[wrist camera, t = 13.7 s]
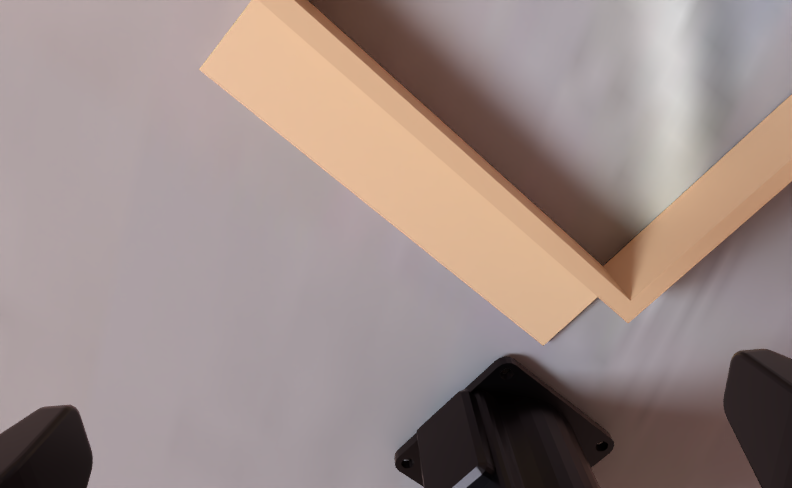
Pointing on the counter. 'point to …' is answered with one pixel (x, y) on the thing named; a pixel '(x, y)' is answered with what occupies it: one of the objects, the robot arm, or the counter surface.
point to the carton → (473, 175)
